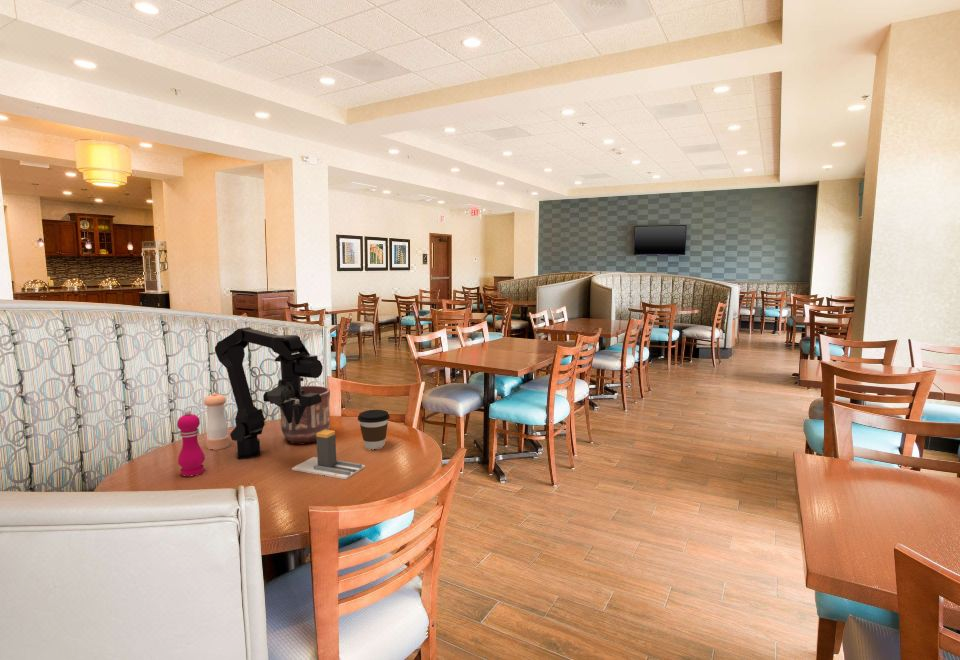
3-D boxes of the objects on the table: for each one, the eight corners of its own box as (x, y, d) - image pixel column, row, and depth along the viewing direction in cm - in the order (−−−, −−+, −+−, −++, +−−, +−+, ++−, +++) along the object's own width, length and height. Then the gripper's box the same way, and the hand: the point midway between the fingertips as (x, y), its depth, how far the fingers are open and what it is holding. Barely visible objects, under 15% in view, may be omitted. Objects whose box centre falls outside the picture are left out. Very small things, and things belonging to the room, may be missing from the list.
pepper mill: (178, 479, 157) (173, 414, 154) (179, 471, 163) (174, 408, 160) (205, 474, 160) (201, 411, 157) (205, 466, 166) (201, 405, 164)
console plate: (292, 469, 163) (291, 464, 163) (313, 458, 172) (313, 454, 172) (345, 479, 156) (345, 474, 156) (364, 467, 165) (364, 462, 165)
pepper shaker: (223, 449, 181) (219, 395, 179) (202, 449, 181) (198, 395, 179) (233, 442, 188) (230, 390, 186) (213, 442, 189) (209, 390, 186)
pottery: (286, 450, 180) (284, 399, 178) (275, 436, 195) (273, 389, 192) (337, 441, 190) (336, 392, 187) (323, 428, 204) (321, 383, 202)
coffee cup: (356, 444, 186) (354, 411, 184) (386, 440, 190) (385, 407, 189) (361, 454, 176) (360, 419, 174) (394, 449, 180) (393, 415, 179)
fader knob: (317, 467, 163) (316, 433, 162) (326, 463, 167) (324, 429, 165) (328, 469, 162) (326, 434, 160) (336, 464, 165) (335, 430, 164)
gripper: (248, 378, 161) (251, 428, 163) (296, 383, 154) (299, 434, 156) (274, 371, 172) (277, 418, 174) (321, 375, 165) (323, 424, 167)
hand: (293, 423), depth 167 cm, fingers open, 3 cm apart
